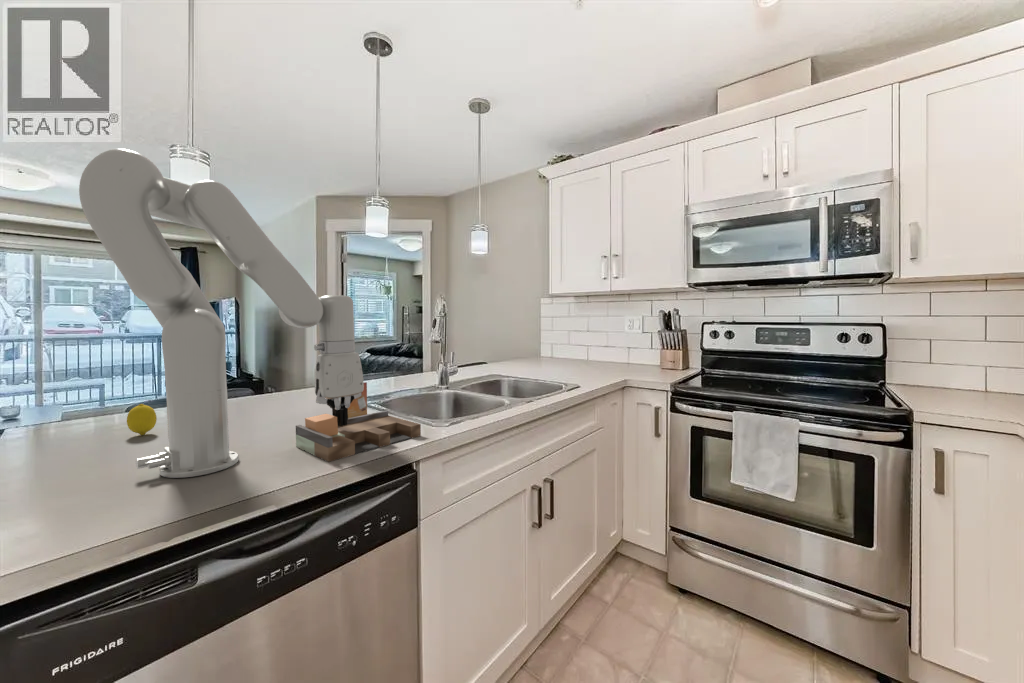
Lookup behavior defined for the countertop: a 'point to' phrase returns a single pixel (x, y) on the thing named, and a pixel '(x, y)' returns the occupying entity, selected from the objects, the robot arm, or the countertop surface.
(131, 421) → the lemon
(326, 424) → the block
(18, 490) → the countertop surface
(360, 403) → the small box
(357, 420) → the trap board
